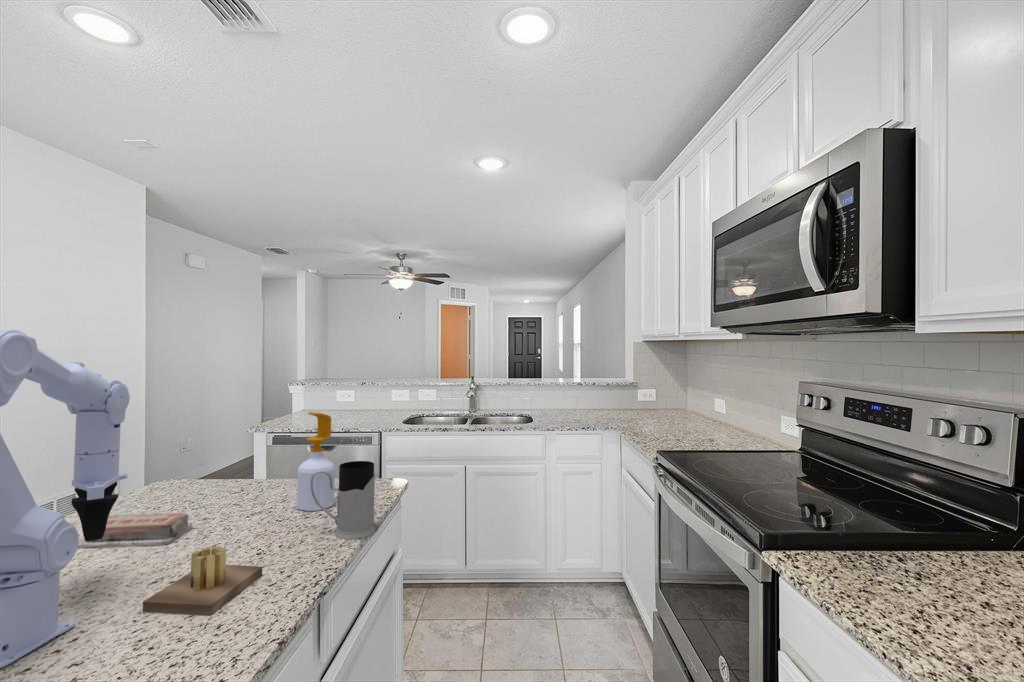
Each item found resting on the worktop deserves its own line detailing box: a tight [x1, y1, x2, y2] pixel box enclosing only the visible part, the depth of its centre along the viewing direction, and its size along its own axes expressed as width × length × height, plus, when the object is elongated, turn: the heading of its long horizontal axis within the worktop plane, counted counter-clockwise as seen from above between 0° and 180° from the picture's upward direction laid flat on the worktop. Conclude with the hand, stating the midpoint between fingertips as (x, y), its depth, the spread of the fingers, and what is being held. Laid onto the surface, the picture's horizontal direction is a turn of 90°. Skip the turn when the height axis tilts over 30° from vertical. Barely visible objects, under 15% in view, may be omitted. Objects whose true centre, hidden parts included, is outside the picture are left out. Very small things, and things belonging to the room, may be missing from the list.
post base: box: [142, 560, 263, 616], centre depth 78 cm, size 13×11×5 cm
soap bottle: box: [296, 412, 336, 512], centre depth 122 cm, size 9×9×25 cm
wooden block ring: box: [190, 545, 227, 590], centre depth 78 cm, size 5×5×5 cm
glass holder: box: [311, 460, 377, 540], centre depth 105 cm, size 9×14×15 cm, turn 99°
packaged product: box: [77, 512, 194, 549], centre depth 100 cm, size 18×5×10 cm
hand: (94, 532), depth 79 cm, fingers open, 7 cm apart
